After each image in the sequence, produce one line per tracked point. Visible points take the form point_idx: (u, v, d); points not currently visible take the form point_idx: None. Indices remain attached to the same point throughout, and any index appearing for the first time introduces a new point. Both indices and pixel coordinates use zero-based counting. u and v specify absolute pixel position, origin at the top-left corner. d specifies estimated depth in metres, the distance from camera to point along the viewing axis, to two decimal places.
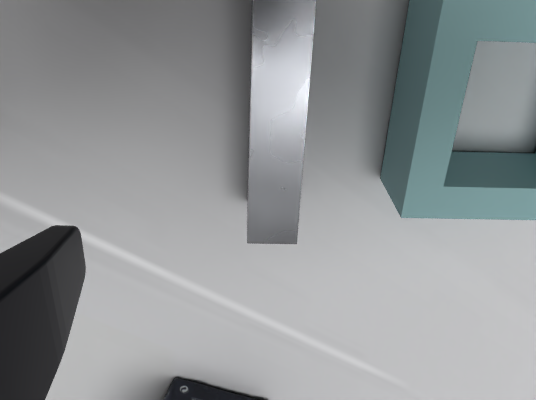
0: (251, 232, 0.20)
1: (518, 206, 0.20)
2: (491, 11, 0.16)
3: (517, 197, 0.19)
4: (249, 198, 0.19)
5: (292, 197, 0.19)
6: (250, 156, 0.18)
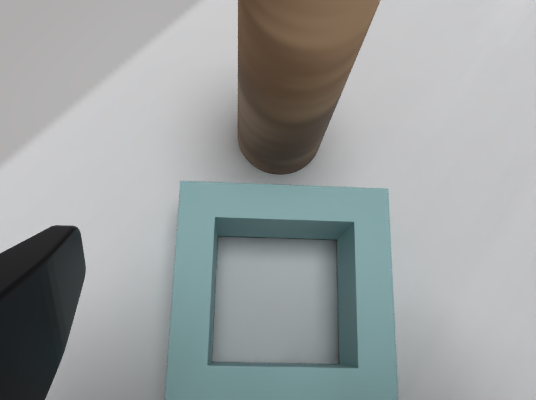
0: None
1: (376, 280, 0.19)
2: (181, 358, 0.18)
3: (366, 284, 0.19)
4: None
5: None
6: None
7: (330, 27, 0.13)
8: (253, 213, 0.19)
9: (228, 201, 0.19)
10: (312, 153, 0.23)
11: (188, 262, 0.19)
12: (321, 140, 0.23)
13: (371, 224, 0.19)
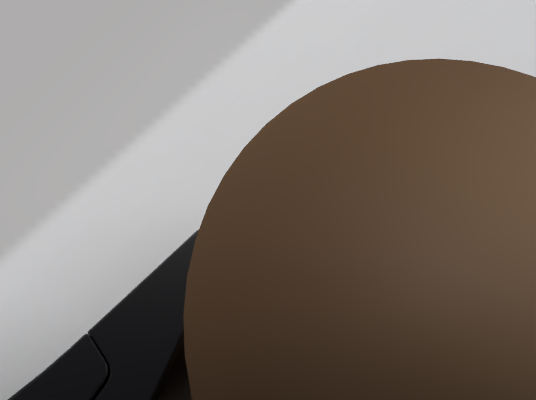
0: None
1: None
2: None
3: None
4: None
5: None
6: None
7: None
8: None
9: None
10: None
11: None
12: None
13: None
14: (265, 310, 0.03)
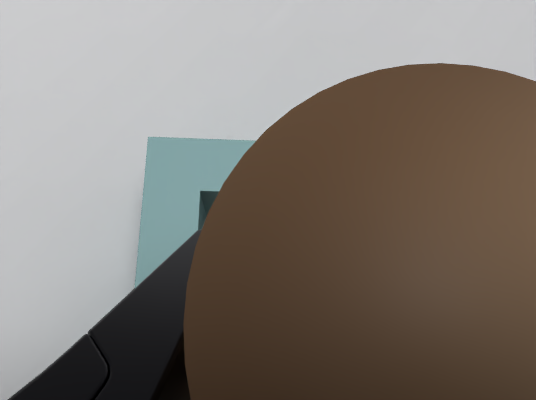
0: None
1: None
2: None
3: None
4: None
5: None
6: None
7: None
8: None
9: (221, 166, 0.13)
10: None
11: (158, 260, 0.12)
12: None
13: None
14: (265, 318, 0.03)
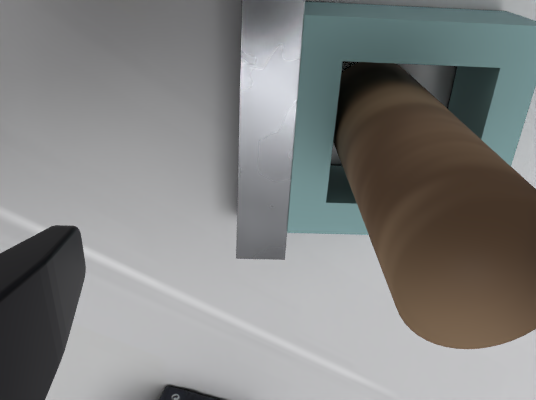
0: (240, 248, 0.20)
1: None
2: (353, 32, 0.16)
3: None
4: (238, 215, 0.20)
5: (280, 214, 0.20)
6: (239, 175, 0.19)
7: (387, 276, 0.11)
8: (494, 110, 0.18)
9: (514, 83, 0.17)
10: None
11: (455, 38, 0.16)
12: None
13: None
14: (505, 221, 0.10)
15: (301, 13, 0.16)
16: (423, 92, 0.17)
